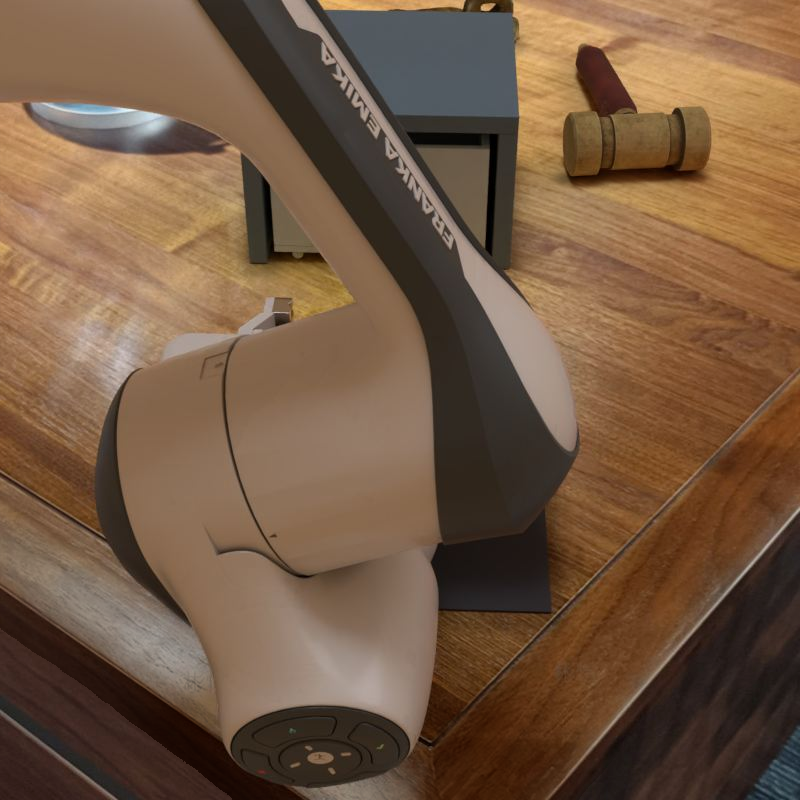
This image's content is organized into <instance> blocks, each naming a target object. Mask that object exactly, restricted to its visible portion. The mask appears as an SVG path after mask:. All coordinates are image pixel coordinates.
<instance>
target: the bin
mask: <svg viewBox="0 0 800 800" xmlns="http://www.w3.org/2000/svg"><path fill="white" fill-rule="evenodd" d="M406 133H407V135H408V136H409V138H410V139H411V141H412V143H413V144H414V146H415V147H416V149H417V150H418V152H419V153H420V155H421V156H422V158H423V159H424V161H425V162H426V164H427V165H428V167H429V168H430V170H431V172H432V173H433V175H434V176H435V178H436V179H437V181H438V182H439V184H440V185H441V187H442V188H443V190H444V191H445V193H446V194H447V196H448V197H449V199H450V200H451V202H452V204H453V205H454V207H455V208H456V210H457V211H458V213H459V214H460V216H461V217H462V219H463V220H464V221H465V223H466V224H467V226H468V227H469V229H470V230H471V231H472V233H473V234H474V235H475V237H476V238H477V240H478V241H479V242H480V243H481V245H482V246H483V247H484V248H485V249H486V236H487V235H486V234H487V216H488V215H487V214H488V196H489V195H488V194H489V156H490V139H489V134H486V133H434V132H406ZM270 192H271V207H272V222H273V250H274V252H277V253H279V252H281V253H291V255H292V256H293V258H294V259H301V258H303V256H304V255H305V253H319V254H320V252H319V251H318V250H317V248H316V247H315V246H314V244H313V243H312V242H311V240H310V239H309V238H308V236H307V235H306V233H305V232H304V231H303V229H302V228H301V227H300V225H299V224H298V223H297V221H296V220H295V218H294V217H293V216H292V214H291V213H290V212H289V210H288V209H287V208H286V206H285V205H284V204H283V202H282V201H281V199H280V198H279V197H278V195H277V194H276V193H275V191H274V190H273V189H272V187H271V186H270Z"/></svg>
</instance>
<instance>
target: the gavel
mask: <svg viewBox="0 0 800 800" xmlns="http://www.w3.org/2000/svg"><path fill="white" fill-rule="evenodd" d="M575 68H576V70H577V72H578V74H579V76H580V77H581V79H582V81H583V83H584V85H585V87H586V89H587V91H588V92H589V95H590V96H591V98H592V100H593V101H594V104H595V105H596V107H597V109H598V111H599V113H600V115H601V117H599V114H598V112H597V111H595V110H592V111H591V110H588V111H587V110H586V111H570V112H568V113H567V115H566V117H565V119H564V123H563V127H562V128H563V130H562V154H563V155H562V156H563V161H564V165H565V169H566V172H567V173H568V174H569V176H571V177H578V176H579V177H581V176H596V175H598V173H599V171H600V169H608V170H609V171H614V170H615V171H616V170H637V169H654V168H655V169H657V168H665V167H666V166H672V168H673V169H674V171H676V172H683V171H685V172H686V171H701V170H704V169H705V167H706V166H707V164H708V162H709V159H710V156H711V150H712V126H711V125H712V124H711V121H710V117H709V114H708V113H707V111H706V109H705V108H704V107H703V106H701V105H699V106H678V107H675V108H673V110H672V112H671V113H669V114H666V113H665V112H662V111H661V112H645V113H643V112H641V113H639V112H638V107H637V106H636V104H635V102H634V100H633V99H632V97H631V95H630V94H629V92H628V90H627V89H626V87H625V85H624V84H623V81H622V80H621V79H620V77H619V75H618V73H617V72H616V70H615V68H614V67H613V65H612V63H611V62H610V60H609V58H608V57H607V55H606V54H605V52H604V50H603V49H601V48H600V47H598V46H593V45H591V44H588V43H584V42H583V43H581V44H580V45H579V46H578V47H577V52H576V58H575Z"/></svg>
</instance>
